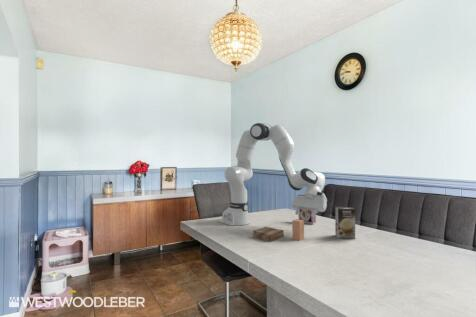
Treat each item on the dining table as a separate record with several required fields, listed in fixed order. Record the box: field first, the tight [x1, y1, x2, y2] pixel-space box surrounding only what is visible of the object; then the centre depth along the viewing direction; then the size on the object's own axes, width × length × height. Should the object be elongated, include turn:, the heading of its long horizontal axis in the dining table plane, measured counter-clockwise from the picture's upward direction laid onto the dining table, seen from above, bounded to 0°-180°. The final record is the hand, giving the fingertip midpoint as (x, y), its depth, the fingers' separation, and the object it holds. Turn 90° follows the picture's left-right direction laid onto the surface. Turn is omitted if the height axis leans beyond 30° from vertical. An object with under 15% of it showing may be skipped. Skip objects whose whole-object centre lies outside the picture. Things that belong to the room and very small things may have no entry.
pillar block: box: [291, 218, 305, 241], centre depth 143 cm, size 4×4×10 cm
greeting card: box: [298, 209, 317, 225], centre depth 180 cm, size 11×7×15 cm, turn 43°
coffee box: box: [334, 206, 356, 239], centre depth 146 cm, size 9×6×16 cm
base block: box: [252, 226, 285, 242], centre depth 147 cm, size 12×12×4 cm
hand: (304, 215), depth 149 cm, fingers open, 8 cm apart
